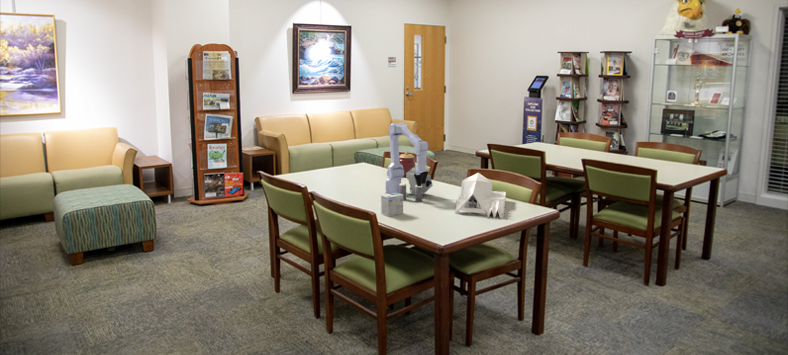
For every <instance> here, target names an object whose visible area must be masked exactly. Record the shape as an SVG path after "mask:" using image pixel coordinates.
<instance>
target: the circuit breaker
mask: <svg viewBox="0 0 788 355" xmlns="http://www.w3.org/2000/svg"><path fill="white" fill-rule="evenodd" d="M416 169H417V167H415V168H412V169H411V170H410V171H408V172H407V173H406V177H405V178H406V180H408V184H409V192H410V195H412V196H415V185H417V182H416V179H415V177H414V174H416ZM421 185H422V196H423V195H425V193H426V192H428V191H429V189H431V188H432V187H433V186H434V185H433V182H432V176H431V175H429V174H428V175H427V178H426V183H425V184H421Z"/></svg>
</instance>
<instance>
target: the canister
mask: <svg viewBox="0 0 788 355" xmlns="http://www.w3.org/2000/svg"><path fill="white" fill-rule="evenodd" d="M399 161H400V164H401V165H403V170H404V176H403V177H402V178H407V177H406V173H407V172H408V171H410V170H411V169H412V168H416V166H417V163H416V159H415V156H414V154H410V153H409V151H405V152H404V153H402V154H399Z"/></svg>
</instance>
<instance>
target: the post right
mask: <svg viewBox="0 0 788 355" xmlns="http://www.w3.org/2000/svg"><path fill="white" fill-rule="evenodd" d="M414 196H415V198H414V202H417V203H419V202H423V198H422V197H423V195H422V185H421V186H417V185H415V195H414Z"/></svg>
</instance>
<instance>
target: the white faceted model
mask: <svg viewBox="0 0 788 355" xmlns="http://www.w3.org/2000/svg"><path fill="white" fill-rule="evenodd" d="M506 193H507V192H506V191H495V190H493V181H492V180H490V179H489V178H487V177H485V176H484V175H482V174H481V173H480V172H477V173H475V174H473V175H471V176H469V177H466V178H465V179H462V180H461V188H460V194H459V196H458V198H457V200H456V208H455V212H454V213H455V214H456V215H457V214H460V215H464V214H465V213H466V214H467V213H468V214H469V213H474V214H475V213H476V214H480V216H487V218H489V217H490V215H491V213H492V215H493V218H494V219H495V218H496V217H497V214H498V216H499V218H500V219H504V217H505V214H504V213H505V212H506V208H504V207H506V197H507V196H506V195H507V194H506ZM470 200H471V201H470ZM474 200H475V201H476V202H475V201H474ZM475 204H476V205H475Z"/></svg>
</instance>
